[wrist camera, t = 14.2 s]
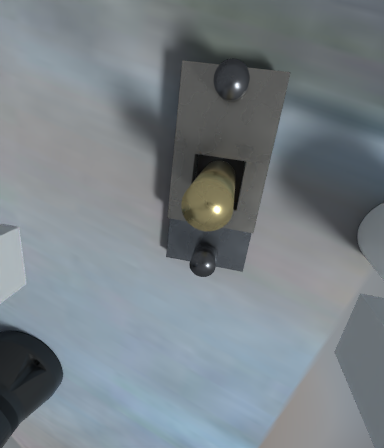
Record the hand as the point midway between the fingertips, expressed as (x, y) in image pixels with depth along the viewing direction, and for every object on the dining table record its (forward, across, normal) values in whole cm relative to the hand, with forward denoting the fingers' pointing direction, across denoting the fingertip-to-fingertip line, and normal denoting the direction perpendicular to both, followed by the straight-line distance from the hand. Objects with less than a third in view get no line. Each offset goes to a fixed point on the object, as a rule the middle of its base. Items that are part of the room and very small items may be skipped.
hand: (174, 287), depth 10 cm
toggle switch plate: (+23, 0, 0) cm, 23 cm away
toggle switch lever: (+23, 0, 0) cm, 23 cm away
